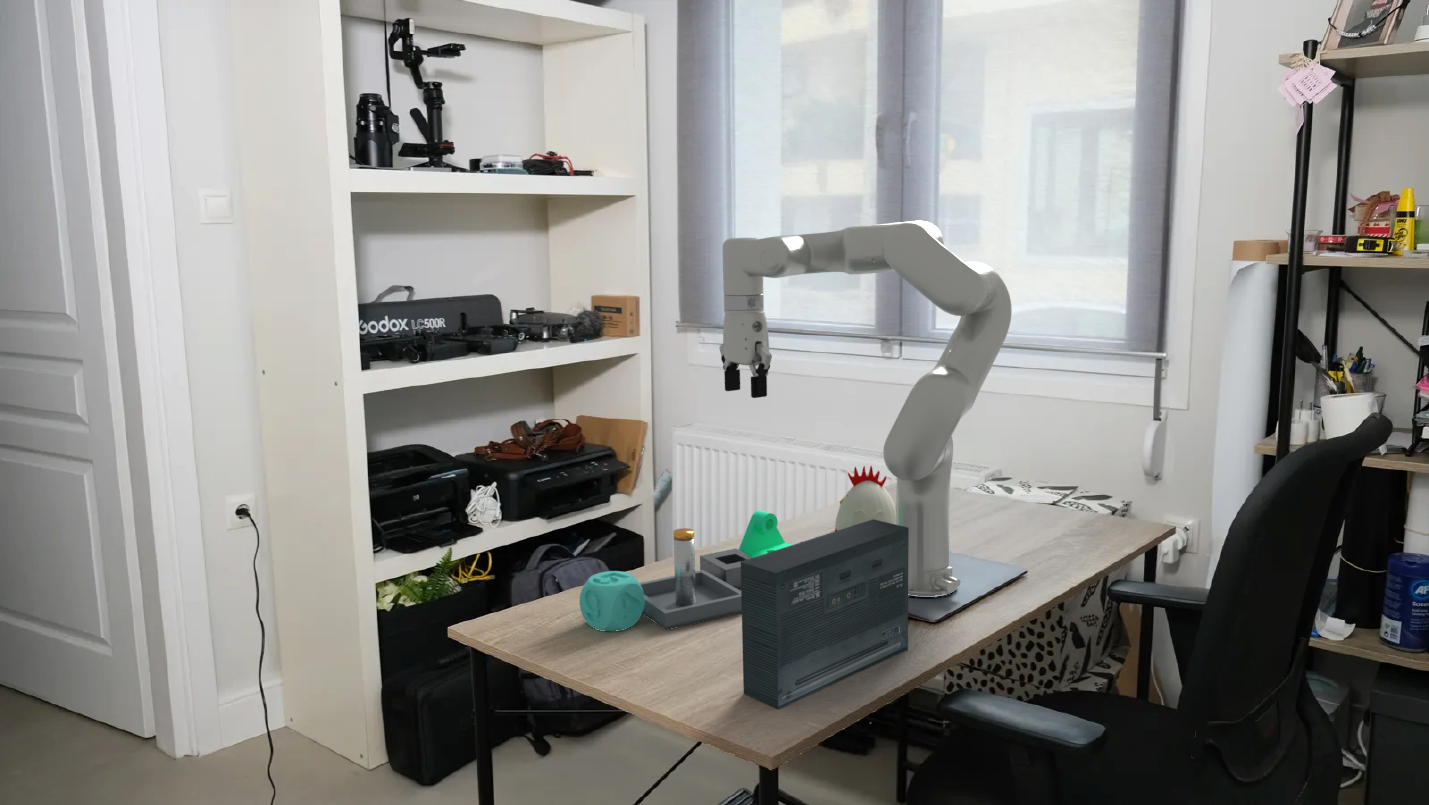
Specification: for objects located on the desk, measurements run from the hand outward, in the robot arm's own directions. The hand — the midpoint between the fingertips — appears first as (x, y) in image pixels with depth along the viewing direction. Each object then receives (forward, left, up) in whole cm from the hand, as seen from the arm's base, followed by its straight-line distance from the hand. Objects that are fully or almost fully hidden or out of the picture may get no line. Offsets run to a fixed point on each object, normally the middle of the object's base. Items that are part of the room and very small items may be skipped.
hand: (745, 393), depth 205 cm
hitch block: (-5, +7, -34) cm, 35 cm away
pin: (-13, +21, -34) cm, 42 cm away
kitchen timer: (+4, -32, -35) cm, 47 cm away
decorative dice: (-13, +35, -35) cm, 51 cm away
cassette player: (-49, +15, -35) cm, 62 cm away
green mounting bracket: (-1, -4, -35) cm, 35 cm away
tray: (-13, +21, -34) cm, 42 cm away
